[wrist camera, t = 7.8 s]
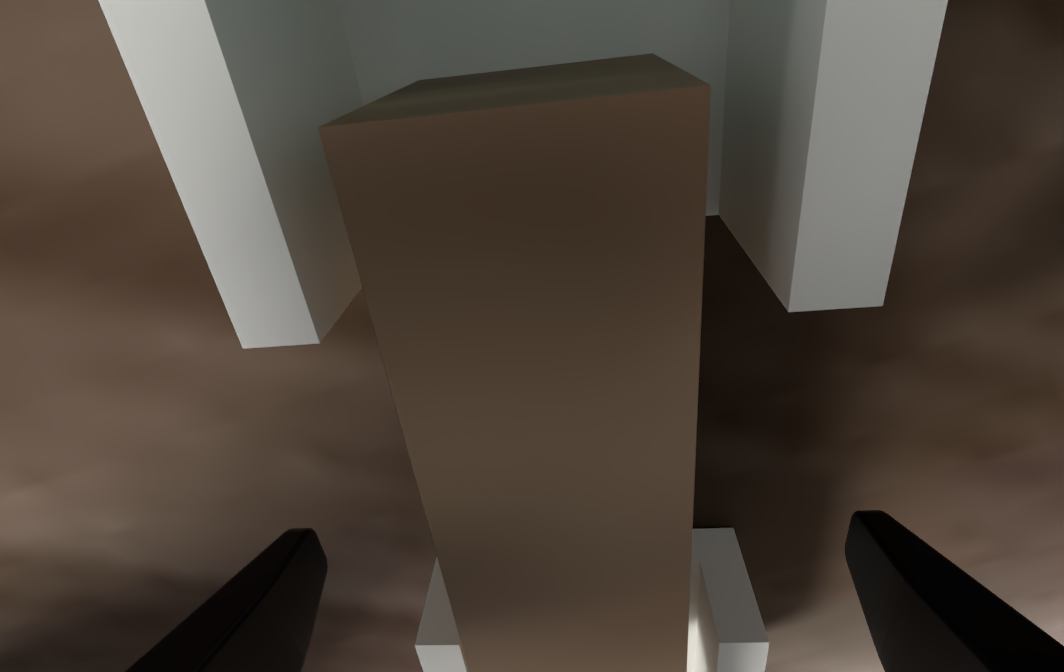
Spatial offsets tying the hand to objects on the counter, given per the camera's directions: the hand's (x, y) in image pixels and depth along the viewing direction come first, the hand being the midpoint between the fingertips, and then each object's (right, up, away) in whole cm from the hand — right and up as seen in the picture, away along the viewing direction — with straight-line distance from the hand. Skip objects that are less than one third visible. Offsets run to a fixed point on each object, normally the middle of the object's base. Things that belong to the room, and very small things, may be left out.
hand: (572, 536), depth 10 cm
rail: (0, +1, +2) cm, 3 cm away
